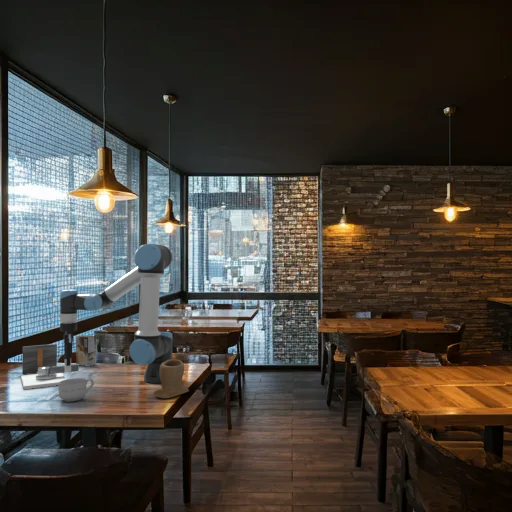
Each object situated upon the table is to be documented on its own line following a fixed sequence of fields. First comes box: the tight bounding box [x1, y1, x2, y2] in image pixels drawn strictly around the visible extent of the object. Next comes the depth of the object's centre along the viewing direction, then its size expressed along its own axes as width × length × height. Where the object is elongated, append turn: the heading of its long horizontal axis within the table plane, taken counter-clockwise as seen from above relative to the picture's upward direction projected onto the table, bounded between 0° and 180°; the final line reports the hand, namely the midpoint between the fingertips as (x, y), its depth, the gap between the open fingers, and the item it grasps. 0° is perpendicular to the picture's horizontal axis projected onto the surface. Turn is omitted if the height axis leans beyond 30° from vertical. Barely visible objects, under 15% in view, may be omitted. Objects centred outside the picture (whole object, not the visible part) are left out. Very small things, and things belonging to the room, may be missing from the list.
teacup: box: [58, 377, 95, 403], centre depth 186 cm, size 14×11×8 cm
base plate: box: [20, 373, 67, 390], centre depth 217 cm, size 25×18×2 cm
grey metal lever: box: [36, 363, 79, 380], centre depth 220 cm, size 19×9×5 cm, turn 120°
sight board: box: [21, 343, 58, 375], centre depth 235 cm, size 2×16×14 cm, turn 120°
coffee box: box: [75, 334, 97, 367], centre depth 255 cm, size 9×6×16 cm
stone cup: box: [153, 358, 190, 399], centre depth 191 cm, size 15×12×15 cm
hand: (67, 372), depth 216 cm, fingers closed
